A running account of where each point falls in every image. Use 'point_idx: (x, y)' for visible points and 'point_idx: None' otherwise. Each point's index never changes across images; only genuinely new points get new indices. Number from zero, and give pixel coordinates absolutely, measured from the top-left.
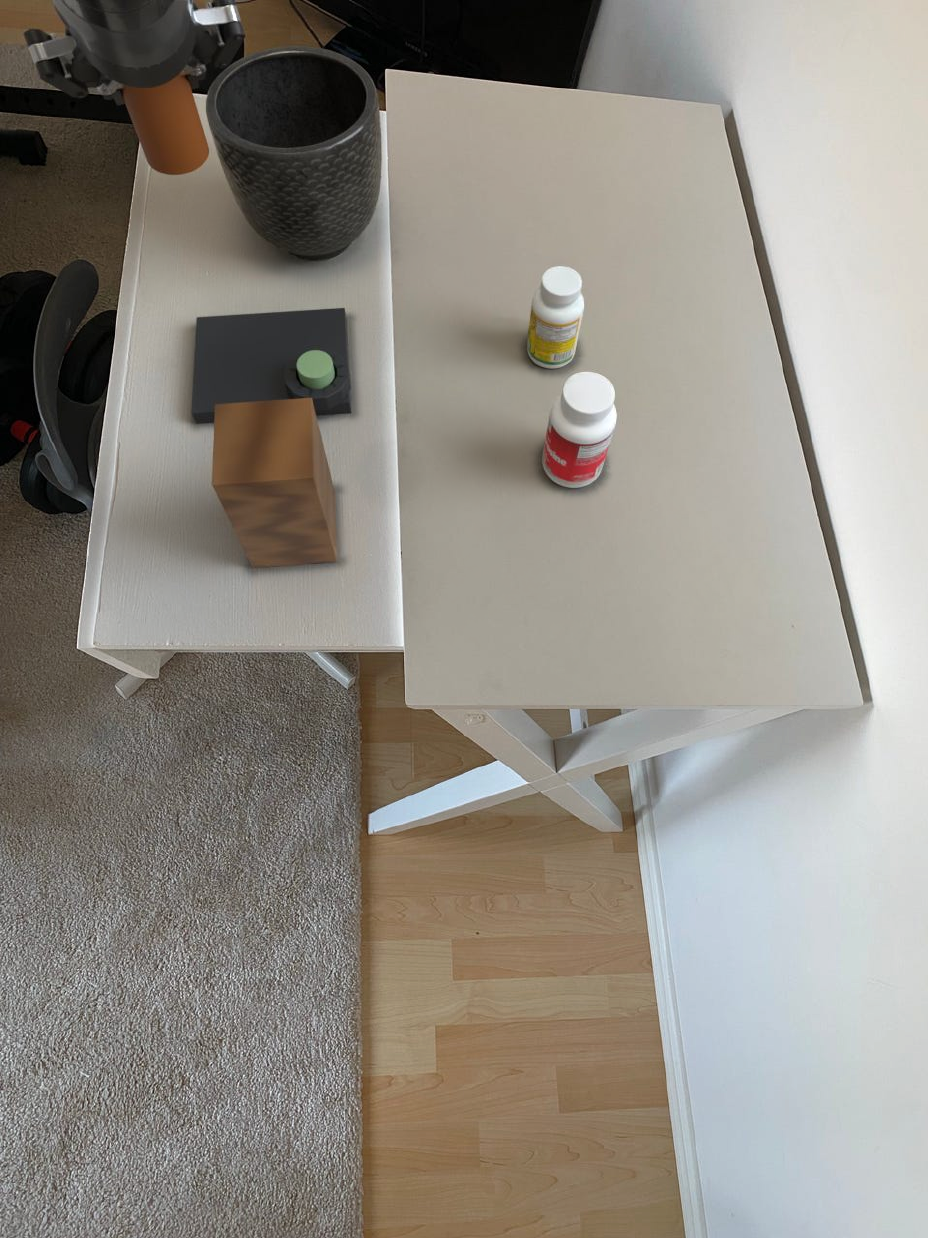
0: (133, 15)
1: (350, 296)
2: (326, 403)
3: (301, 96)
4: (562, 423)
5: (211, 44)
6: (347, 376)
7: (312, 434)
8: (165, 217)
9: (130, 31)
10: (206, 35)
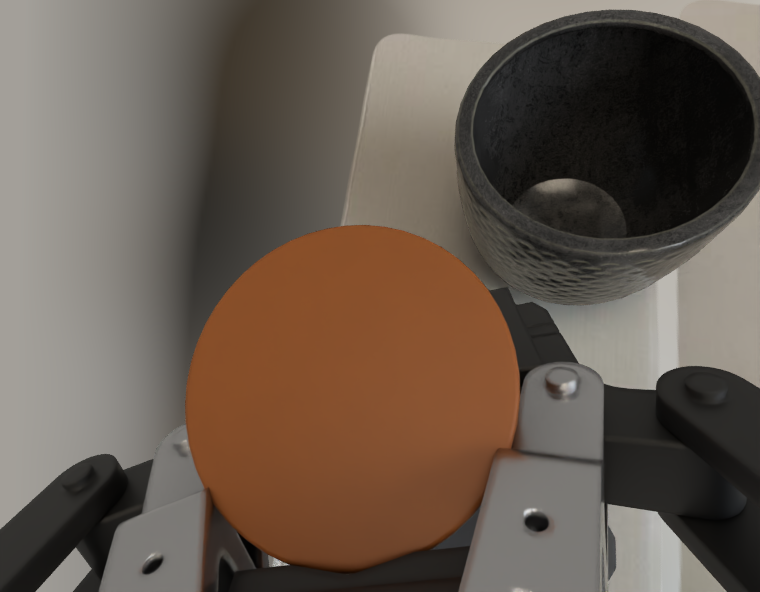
0: None
1: (604, 355)
2: None
3: (590, 76)
4: None
5: (691, 484)
6: (613, 566)
7: None
8: (372, 195)
9: None
10: (680, 453)
